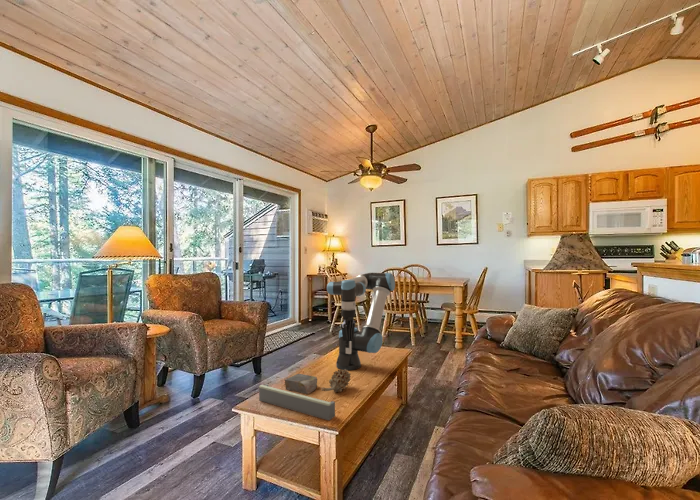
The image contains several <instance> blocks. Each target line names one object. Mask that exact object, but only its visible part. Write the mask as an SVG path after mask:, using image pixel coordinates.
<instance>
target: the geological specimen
mask: <svg viewBox="0 0 700 500" xmlns="http://www.w3.org/2000/svg"><path fill="white" fill-rule="evenodd" d="M284 386H285V390H286V391H290V392H297V393H299V394H300V393H301V394H306V395H308V394H309V395H310V394H311V393H312V392H314V391H315V390H316V388H317V387H318V378H317V376H314V375H310V374H302V373H296V374H294V375H292V376H290V377H289V376H288V378H284Z"/></svg>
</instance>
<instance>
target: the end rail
mask: <svg viewBox="0 0 700 500" xmlns="http://www.w3.org/2000/svg"><path fill="white" fill-rule="evenodd" d="M258 391H259V392H258V396H259V397H258V400H259V402H263V403H267V404H271V405H274V406H277V407H280V408H284V409H287V410H288V409H289V410H291V411H295V412H299V413H302V414H304V415H305V414H306V415H308V416H312V417H315V418H319V419H322V420H326V421H331V420H333V418H334V417H335V416H336V402H335V401H334V400H331V401H327V400H323V399H319V398H316V397H311V396H307V395H304V394H300V393H294V392H293V391H289V390H284V389H281V388H276V387H272V386H269V384H267V383H266V384H261V385H259V386H258Z"/></svg>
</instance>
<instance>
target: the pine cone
mask: <svg viewBox="0 0 700 500" xmlns="http://www.w3.org/2000/svg"><path fill="white" fill-rule="evenodd" d="M330 378H331V379H329V380H328V381H329V387H321V389H320V390H321V391H323V392H329V391H333V392H335V393H337V392H338V393H341V392H343V390H345V389H346V388H347V386H349V382H350V381H351V373H350V370H346V369H344V370H342V369H337V370H335V371H334V372H333V374H332V375H331V377H330Z"/></svg>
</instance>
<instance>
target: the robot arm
mask: <svg viewBox="0 0 700 500" xmlns="http://www.w3.org/2000/svg"><path fill="white" fill-rule="evenodd" d="M395 288H396V280H395V277H394V275H393V274H392V273H390V272H367V273H364V274H362V273H361V274H359V275H357V276H355V277H353V278H348V279H345V280H340V281H329V282H328V283H327V284H326V291H327V294H329V295H333V296H341V300H340V301H341V302H340V303H341V305H340V306H341V307H340V308H341V314H340V315H341V317H342V318H343V320H342V321H343V322H342V323H340V328H341V329H340V330H339V331H338V356H337V360H336V363H335V367H336V368H337V370H344V369H346V370H348V371H354V370H358V369H360V368H361V367H362V363H361V359H360V356H359V352H364V353H368V354H377V353H378V352H379V351H380V350H381V348H382V345H383V340H384V338H383V335H382V334H381V333H382V332H381V330H380V328H381V327H380V326H381V323H382V318H383V314H384V309H385V306H386V302H387V298H388V296H389V295H391V292H393V291H395ZM367 290H369V291H371V290H372V292H373V295H372V299H371V303H370V307H369V311H368V315H367V319H366V323H365V325H364V326H362V329H361V330H359V329H358V328H357V327H356V324H357V323H356V322H357V320H354V317H356V305H357V304H356V297H361V296H362V295H364V294H365V293H366V291H367Z"/></svg>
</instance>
